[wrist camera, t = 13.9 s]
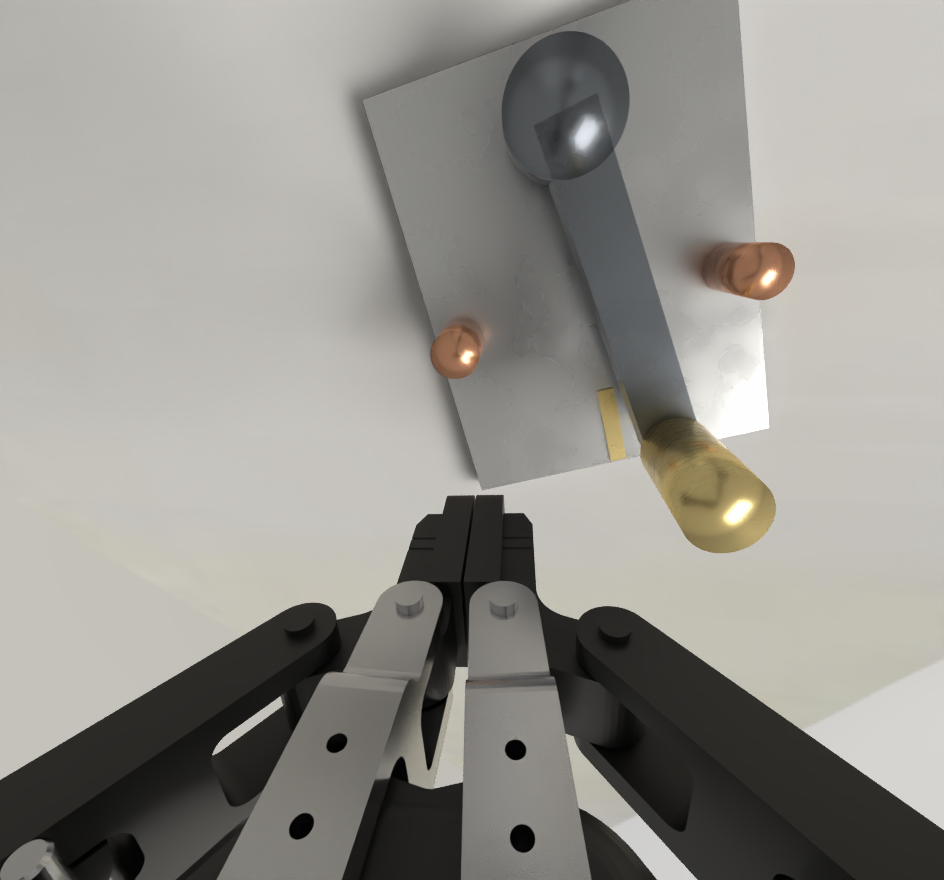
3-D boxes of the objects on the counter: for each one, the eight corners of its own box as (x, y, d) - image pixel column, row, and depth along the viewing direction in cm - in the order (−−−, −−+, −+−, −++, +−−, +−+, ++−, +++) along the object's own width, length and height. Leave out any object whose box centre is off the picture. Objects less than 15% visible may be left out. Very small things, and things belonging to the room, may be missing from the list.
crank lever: (484, 90, 16) (468, -2, 10) (595, 28, 15) (650, -112, 9) (626, 474, 21) (673, 569, 15) (716, 443, 20) (806, 530, 14)
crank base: (368, 105, 19) (332, 72, 15) (725, -26, 17) (786, -103, 13) (482, 482, 24) (477, 525, 21) (760, 421, 22) (810, 457, 18)
